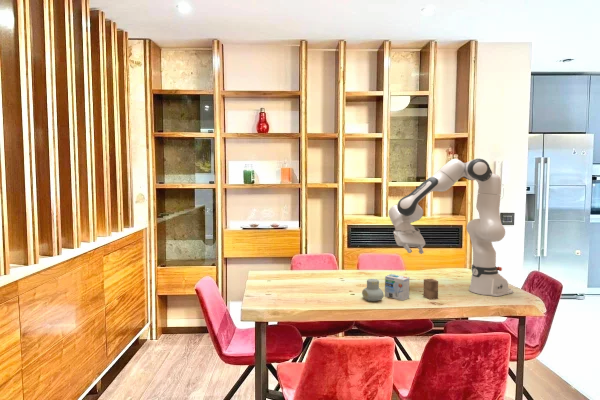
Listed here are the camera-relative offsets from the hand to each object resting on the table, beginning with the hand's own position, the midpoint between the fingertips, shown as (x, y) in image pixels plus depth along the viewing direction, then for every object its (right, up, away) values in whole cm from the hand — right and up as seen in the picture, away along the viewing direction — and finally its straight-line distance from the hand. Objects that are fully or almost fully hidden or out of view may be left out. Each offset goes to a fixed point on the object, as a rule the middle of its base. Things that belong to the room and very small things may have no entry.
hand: (416, 252), depth 199 cm
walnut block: (+5, -22, -7) cm, 24 cm away
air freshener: (-25, -22, -11) cm, 35 cm away
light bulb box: (-12, -22, -7) cm, 26 cm away
